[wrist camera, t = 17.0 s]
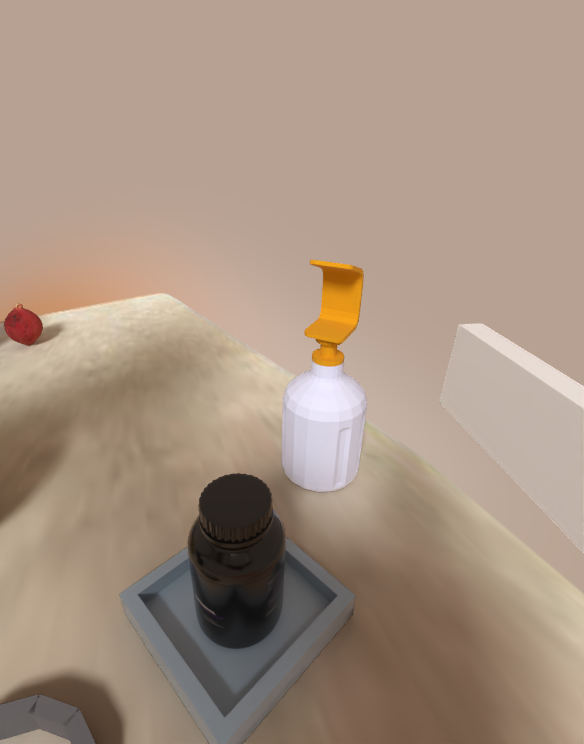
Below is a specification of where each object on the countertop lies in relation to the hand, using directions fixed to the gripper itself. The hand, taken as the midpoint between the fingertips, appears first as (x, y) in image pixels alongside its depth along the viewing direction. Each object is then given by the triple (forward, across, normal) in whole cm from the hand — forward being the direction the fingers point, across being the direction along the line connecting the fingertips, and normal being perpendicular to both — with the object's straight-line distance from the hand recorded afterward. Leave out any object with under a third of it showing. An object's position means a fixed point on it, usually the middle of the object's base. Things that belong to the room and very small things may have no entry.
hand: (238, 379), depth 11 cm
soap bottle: (+26, +11, -28) cm, 39 cm away
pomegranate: (+67, -34, -28) cm, 81 cm away
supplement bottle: (+10, 0, -26) cm, 28 cm away
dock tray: (+10, 0, -27) cm, 29 cm away
